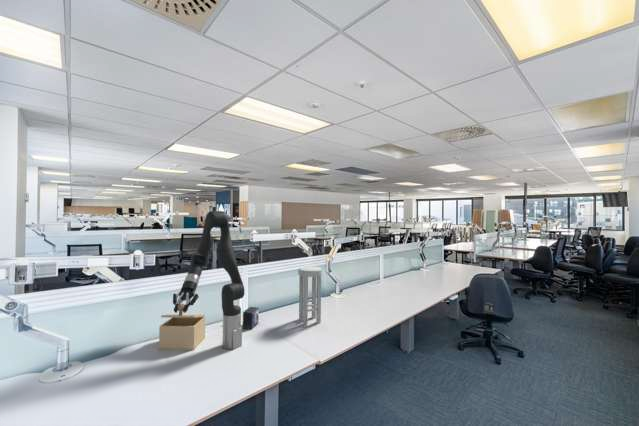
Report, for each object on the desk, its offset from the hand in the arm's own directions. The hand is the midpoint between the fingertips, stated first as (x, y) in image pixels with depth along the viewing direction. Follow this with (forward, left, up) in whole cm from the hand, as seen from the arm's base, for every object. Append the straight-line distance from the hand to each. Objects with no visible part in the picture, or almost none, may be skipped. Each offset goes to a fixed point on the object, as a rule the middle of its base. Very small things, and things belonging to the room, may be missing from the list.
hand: (179, 311), depth 146 cm
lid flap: (+2, -4, -4) cm, 6 cm away
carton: (+2, -4, -19) cm, 19 cm away
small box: (-12, -41, -19) cm, 46 cm away
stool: (-39, -68, -19) cm, 80 cm away
